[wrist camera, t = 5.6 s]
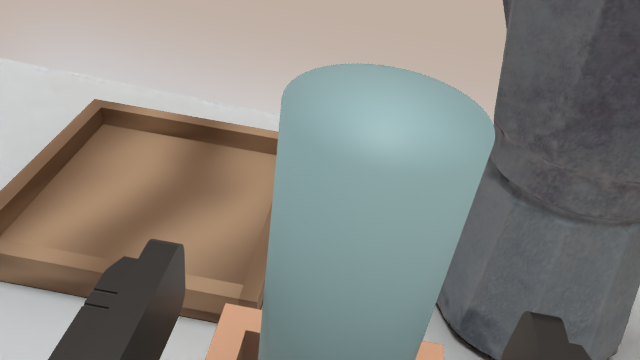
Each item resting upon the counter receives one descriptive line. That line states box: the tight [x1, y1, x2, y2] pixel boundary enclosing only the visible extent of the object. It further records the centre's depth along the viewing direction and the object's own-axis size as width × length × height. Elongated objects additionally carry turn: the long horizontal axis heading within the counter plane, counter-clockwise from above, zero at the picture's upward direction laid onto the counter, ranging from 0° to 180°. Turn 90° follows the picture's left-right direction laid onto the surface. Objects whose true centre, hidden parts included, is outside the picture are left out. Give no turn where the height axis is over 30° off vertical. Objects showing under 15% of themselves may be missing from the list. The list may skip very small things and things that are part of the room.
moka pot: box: [436, 0, 640, 360], centre depth 22 cm, size 10×15×20 cm, turn 52°
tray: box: [0, 99, 279, 323], centre depth 30 cm, size 14×14×2 cm
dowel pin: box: [258, 64, 495, 360], centre depth 15 cm, size 4×4×15 cm
